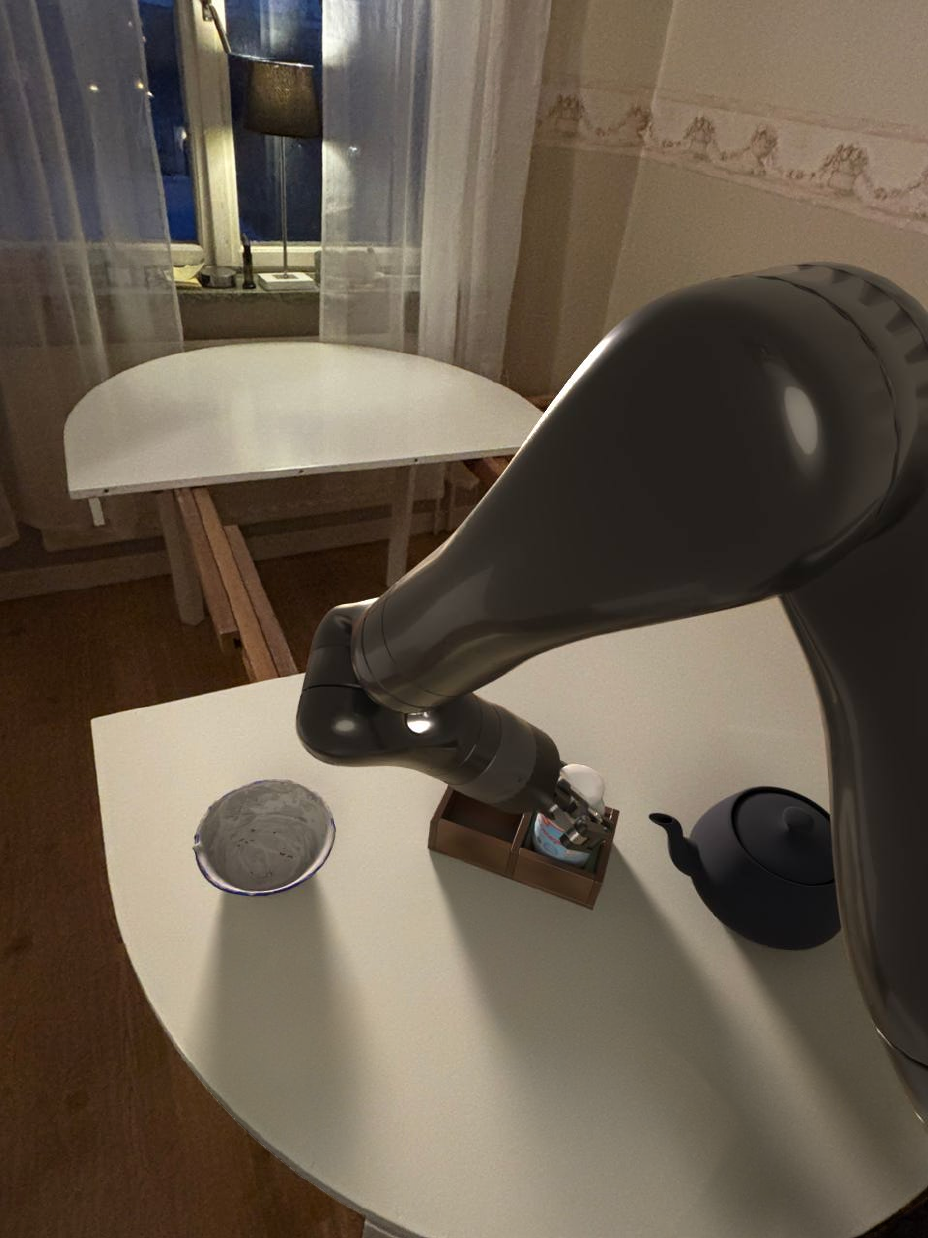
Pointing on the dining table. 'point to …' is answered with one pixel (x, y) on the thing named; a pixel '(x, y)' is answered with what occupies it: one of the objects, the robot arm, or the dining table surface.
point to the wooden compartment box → (513, 848)
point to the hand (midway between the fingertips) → (587, 803)
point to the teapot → (762, 866)
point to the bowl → (264, 838)
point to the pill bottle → (549, 833)
